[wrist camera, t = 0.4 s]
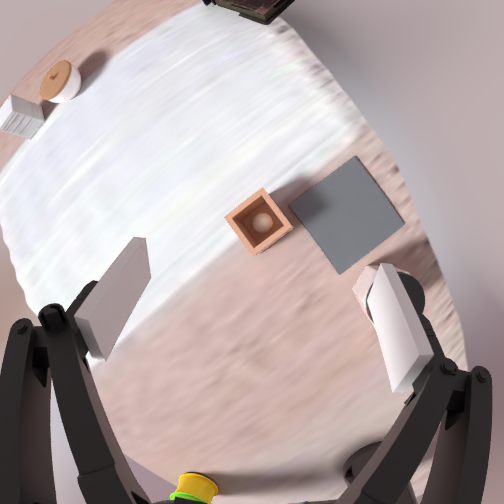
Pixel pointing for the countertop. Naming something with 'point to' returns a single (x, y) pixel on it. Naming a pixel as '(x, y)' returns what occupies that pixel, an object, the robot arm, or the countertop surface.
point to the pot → (244, 217)
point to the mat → (347, 214)
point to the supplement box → (20, 117)
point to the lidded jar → (61, 83)
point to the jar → (409, 283)
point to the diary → (254, 8)
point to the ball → (262, 223)
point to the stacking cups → (195, 488)
